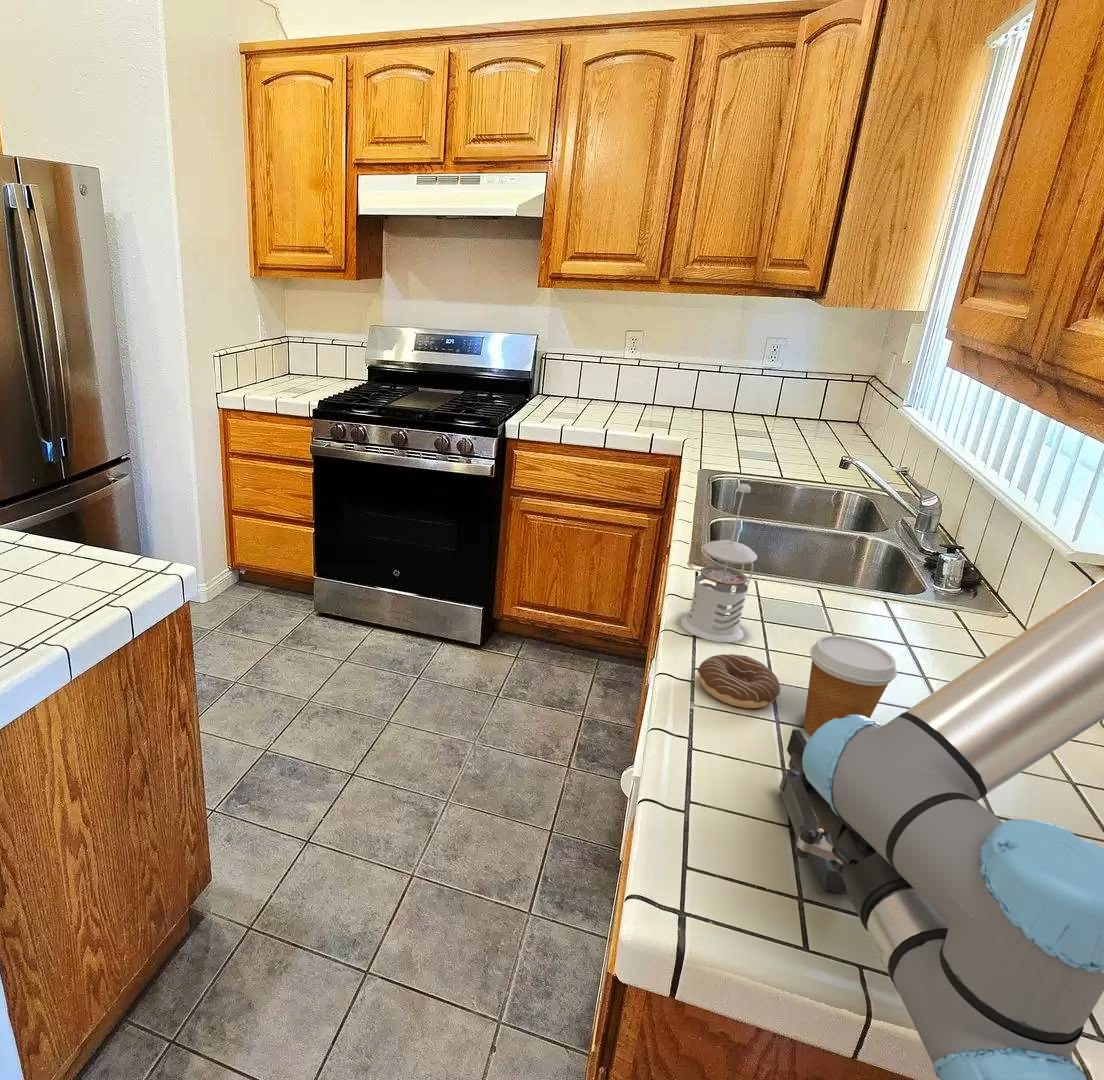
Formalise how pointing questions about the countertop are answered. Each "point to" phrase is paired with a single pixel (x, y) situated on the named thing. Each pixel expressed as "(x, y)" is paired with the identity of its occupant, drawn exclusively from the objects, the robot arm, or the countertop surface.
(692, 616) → the french press
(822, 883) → the squeegee
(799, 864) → the countertop surface
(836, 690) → the disposable coffee cup
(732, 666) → the donut
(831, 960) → the countertop surface
